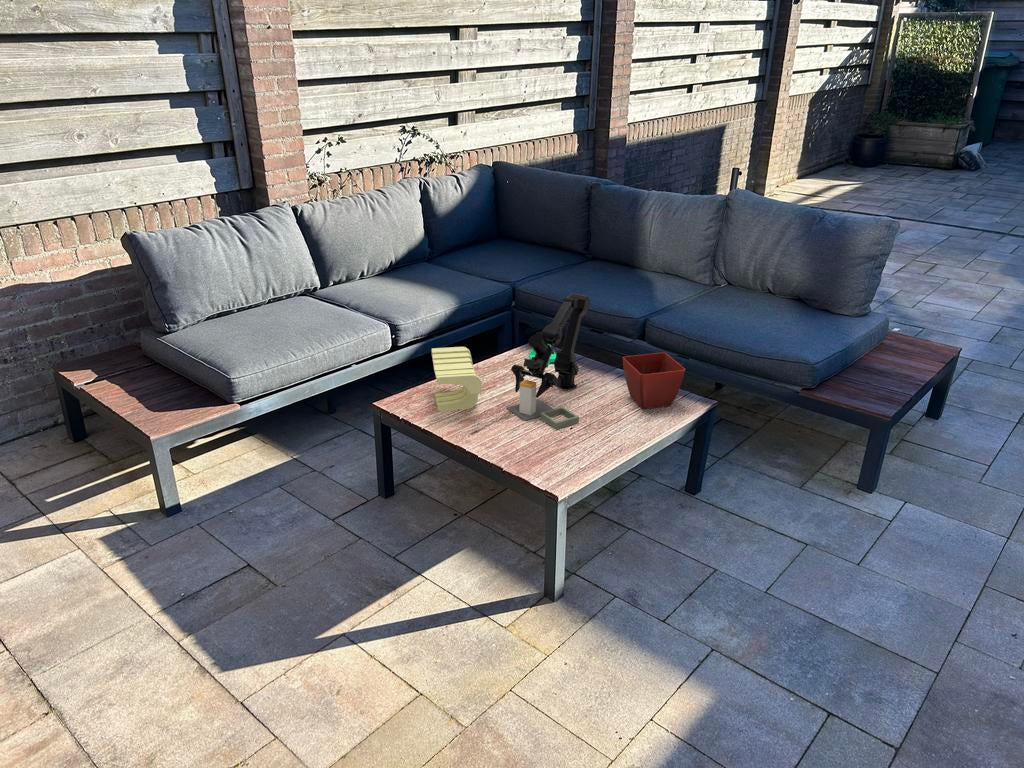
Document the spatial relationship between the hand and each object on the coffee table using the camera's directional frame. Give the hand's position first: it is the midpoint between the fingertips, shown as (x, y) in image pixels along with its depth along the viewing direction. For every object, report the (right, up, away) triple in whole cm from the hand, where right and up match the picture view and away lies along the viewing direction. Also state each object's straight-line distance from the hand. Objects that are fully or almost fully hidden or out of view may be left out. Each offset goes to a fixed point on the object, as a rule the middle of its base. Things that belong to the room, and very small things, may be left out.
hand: (526, 394), depth 310 cm
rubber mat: (+2, -6, +7) cm, 10 cm away
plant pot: (+50, -3, +16) cm, 53 cm away
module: (+1, -7, +4) cm, 8 cm away
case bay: (+13, -10, -1) cm, 16 cm away
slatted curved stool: (-28, -3, +13) cm, 31 cm away
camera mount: (+9, +14, +54) cm, 57 cm away
